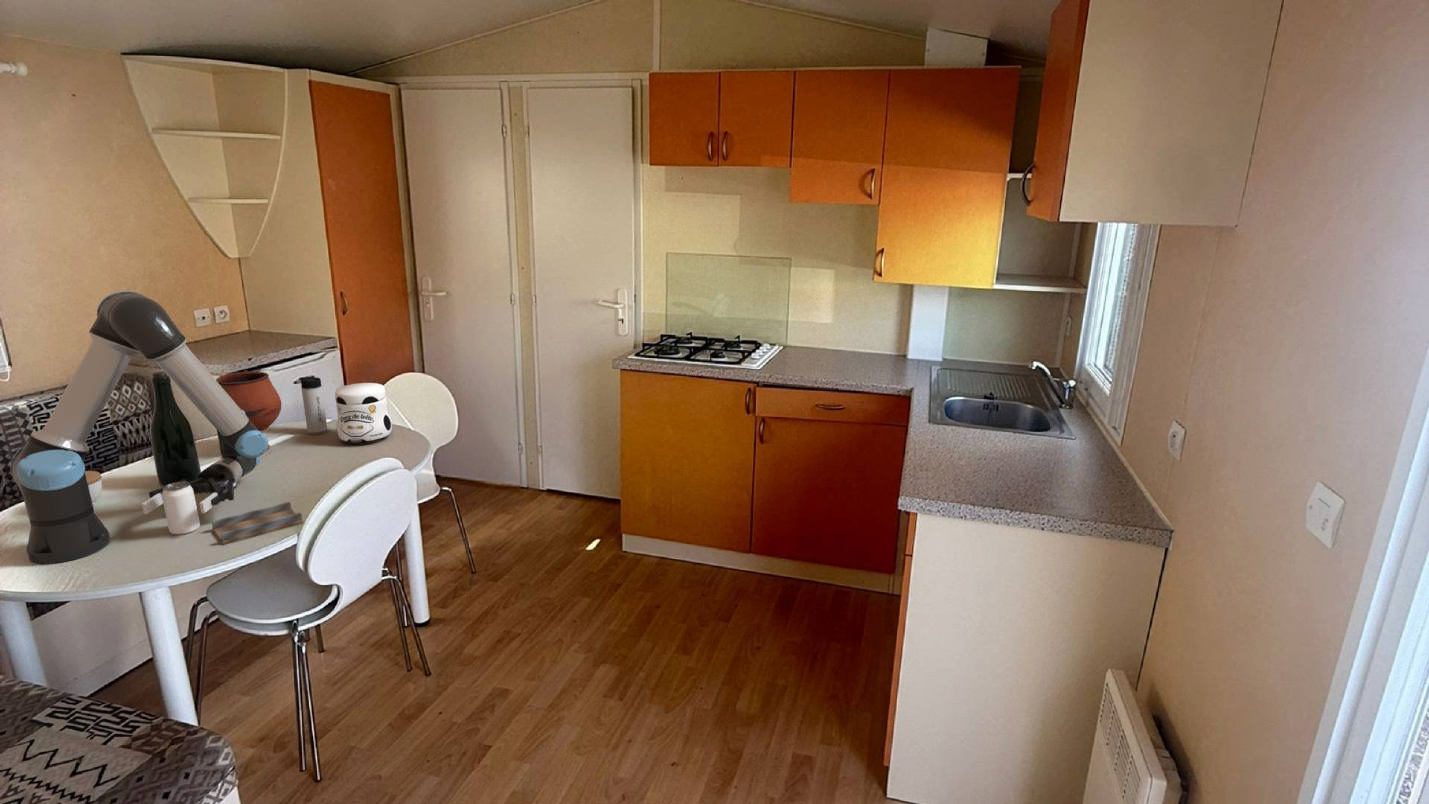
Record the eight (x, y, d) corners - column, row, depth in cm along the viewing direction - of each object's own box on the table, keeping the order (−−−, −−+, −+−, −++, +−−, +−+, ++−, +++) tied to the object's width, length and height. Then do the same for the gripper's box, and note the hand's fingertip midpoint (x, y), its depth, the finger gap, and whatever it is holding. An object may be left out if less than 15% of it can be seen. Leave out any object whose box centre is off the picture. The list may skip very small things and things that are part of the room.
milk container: (347, 451, 247) (340, 398, 242) (331, 437, 260) (325, 387, 255) (400, 440, 258) (395, 389, 253) (383, 427, 271) (377, 379, 266)
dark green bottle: (200, 471, 228) (181, 366, 219) (203, 482, 220) (182, 373, 211) (158, 478, 222) (136, 370, 213) (159, 490, 214) (136, 378, 205)
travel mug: (308, 430, 266) (300, 375, 261) (329, 428, 268) (321, 374, 263) (305, 435, 261) (297, 380, 255) (326, 434, 263) (318, 379, 257)
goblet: (214, 448, 247) (201, 374, 240) (279, 436, 260) (268, 366, 253) (226, 464, 234) (212, 387, 227) (294, 451, 246) (283, 377, 239)
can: (184, 536, 188) (175, 492, 184) (163, 533, 189) (153, 489, 185) (206, 525, 194) (198, 482, 190) (185, 522, 195) (176, 479, 191)
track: (223, 544, 184) (222, 535, 183) (212, 530, 191) (211, 520, 190) (303, 523, 196) (301, 514, 195) (290, 510, 203) (288, 501, 203)
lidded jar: (102, 508, 202) (95, 475, 200) (51, 516, 197) (43, 482, 195) (109, 494, 211) (102, 462, 209) (60, 501, 206) (52, 469, 203)
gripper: (269, 488, 209) (228, 521, 189) (174, 489, 207) (123, 523, 186) (265, 462, 207) (223, 493, 186) (169, 463, 205) (116, 495, 184)
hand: (173, 508), depth 186 cm, fingers open, 13 cm apart
